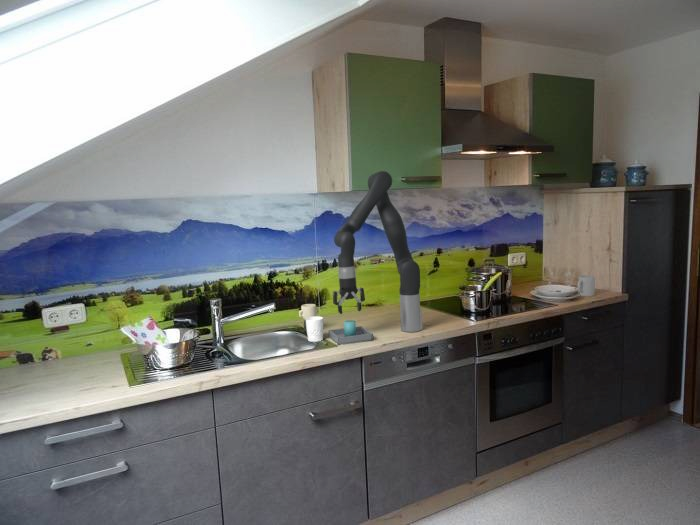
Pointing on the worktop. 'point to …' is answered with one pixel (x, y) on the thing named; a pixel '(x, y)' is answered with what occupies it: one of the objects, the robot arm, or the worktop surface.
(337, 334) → the tray
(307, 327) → the white cup
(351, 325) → the teal capsule
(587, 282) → the mug
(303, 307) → the character mug
